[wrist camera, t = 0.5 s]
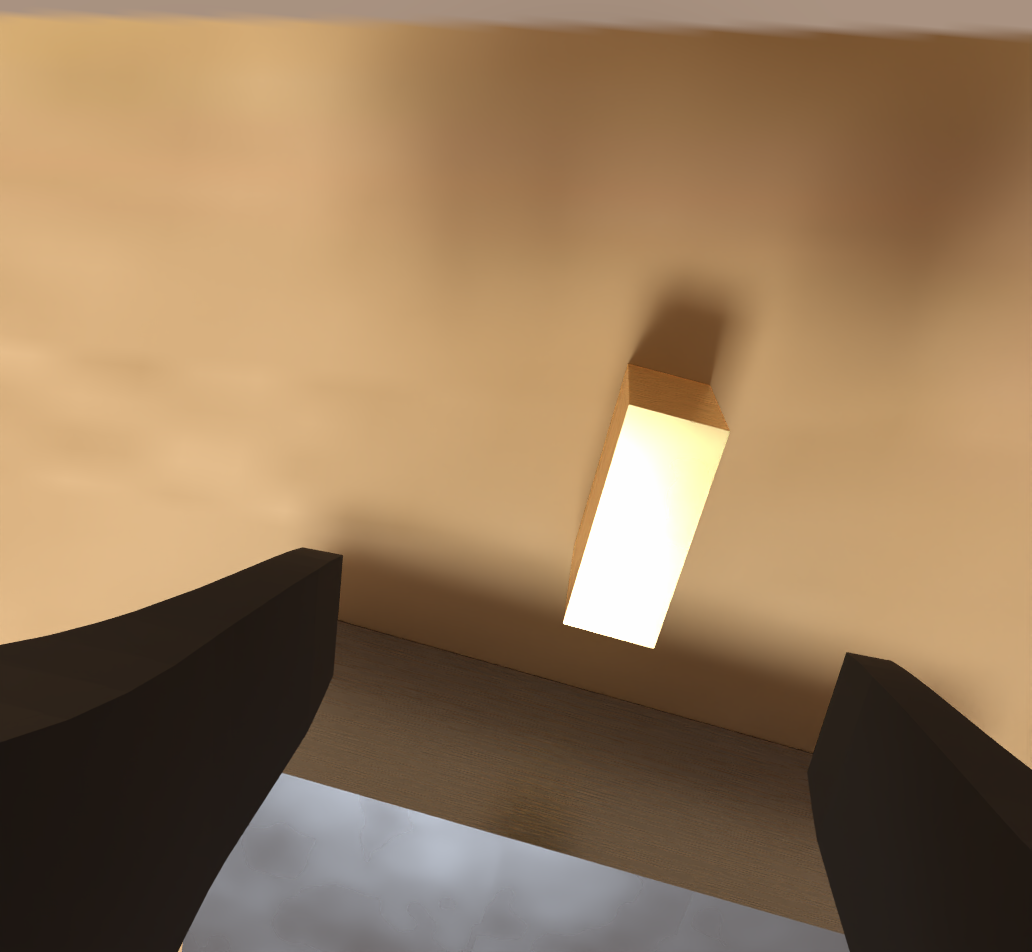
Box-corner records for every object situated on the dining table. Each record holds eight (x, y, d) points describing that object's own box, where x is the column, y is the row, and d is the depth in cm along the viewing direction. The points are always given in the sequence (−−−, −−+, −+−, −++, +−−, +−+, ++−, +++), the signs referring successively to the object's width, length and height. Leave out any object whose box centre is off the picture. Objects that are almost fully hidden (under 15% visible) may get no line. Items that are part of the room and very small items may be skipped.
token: (709, 384, 20) (730, 431, 16) (648, 567, 21) (653, 648, 18) (628, 363, 20) (629, 404, 16) (573, 546, 21) (563, 623, 18)
